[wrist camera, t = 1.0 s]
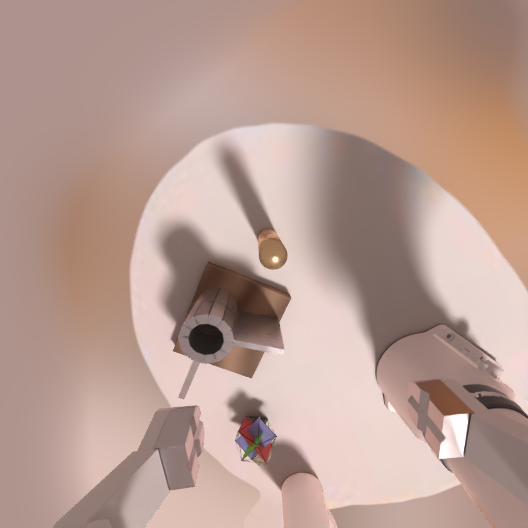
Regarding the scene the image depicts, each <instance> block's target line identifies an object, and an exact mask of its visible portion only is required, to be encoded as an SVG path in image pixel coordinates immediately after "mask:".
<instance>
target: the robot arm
mask: <svg viewBox="0 0 528 528" xmlns="http://www.w3.org/2000/svg"><path fill="white" fill-rule="evenodd" d="M503 372H504V370H503V369H501V365H500V364H498V363H497V362H496V361H495V360H493V359H492V358H491V357H489V356H488V355H486V354H485V353H484V352H482V351H481V350H480V349H478V348H477V347H475V346H474V345H473V344H471V343H470V342H468V341H467V340H466V339H464V338H463V337H462V336H460V335H459V334H457V333H456V332H455V331H453V330H452V329H450V328H449V327H448V326H446V325H443V324H442V325H438V326H436V327H434V328H432V329H430V330H428V331H427V332H423V333H418V334H413V335H409V336H406V337H404V338H402V339H400V340H398V341H397V342H395V343H394V344H393V345H391V346H390V347H389V348H388V349H387V350H386V351H385V353H384V354H383V355H382V357H381V359H380V361H379V363H378V367H377V382H378V384H379V387H380V388H381V390H382V391H383V393H384V396H385V405H386V407H387V408H388V410H389V411H390V412H393V413H398V415H399V416H400V417H401V419H402V420H403V421H404V422H405V424H406V425H407V426H408V427H409V429H410V430H411V431H412V433H413V434H414V435H415V436H416V437H417V439H419V440H420V441H424V442H427V443H428V445H429V446H430V448H431V450H432V452H433V453H434V454H435V456H436V457H437V458H438V459H439V460H440V461H441V462H442V464H443V465H444V466H445V467H446V468H447V469H448V470H449V471H451V472H452V473H454V475H455V476H456V477H457V479H458V480H459V482H460V483H461V484H462V486H463V487H464V489H465V490H466V491H467V493H468V494H469V496H470V497H471V498H472V499H473V501H474V502H475V504H476V505H477V507H478V508H479V509H480V511H481V512H482V513H483V515H484V516H485V518H486V519H487V520H488V522H489V523H490V524H491V526H492V527H493V528H528V416H527V415H526V413H525V412H524V411H523V410H522V409H521V407H520V406H519V405H517V404H516V403H515V402H514V400H515V394H514V391H513V389H511V388H510V387H509V386H507V385H506V384H505V383H503V382H502V381H501V380H499V379H500V375H501V374H502V373H503ZM200 415H201V412H200V408H199V406H197V405H196V406H184V407H172V408H164V409H158V410H157V411H156V412H155V414H154V417H153V419H152V421H151V423H150V425H149V427H148V429H147V431H146V434H145V436H144V438H143V440H142V442H141V444H140V446H139V449H138V451H136V452H132V453H131V454H130V455H129V456H128V457H127V458H126V459H125V460H124V461H123V462H121V463H120V464H119V465H118V466H117V467H116V468H115V469H114V470H113V471H112V472H111V473H110V474H109V475H107V476H106V477H105V478H104V479H103V480H102V481H101V482H100V483H99V484H98V485H97V486H96V487H94V488H93V489H92V490H91V491H90V492H89V493H88V494H87V495H86V496H85V497H84V498H83V499H82V500H80V501H79V502H78V503H77V504H76V505H75V506H74V507H73V508H72V509H71V510H70V511H68V512H67V513H66V514H65V515H64V516H63V517H62V518H61V519H60V520H59V521H58V522H57V523H56V524H55V525H54V527H53V528H145V527H146V525H147V524H148V522H149V521H150V519H151V518H152V517H153V515H154V514H155V512H156V511H157V509H158V508H159V507H160V505H161V504H162V502H163V501H164V499H165V498H166V497H167V495H168V494H169V490H176V489H182V488H189V487H195V483H196V479H197V474H198V469H199V462H198V457H199V455H200V454H201V453H202V449H203V444H204V427H203V422H201V421H200V420H199V419H200Z"/></svg>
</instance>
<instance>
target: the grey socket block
mask: <svg viewBox="0 0 528 528" xmlns="http://www.w3.org/2000/svg"><path fill="white" fill-rule="evenodd" d="M178 340H179V344H180V349H181V348H182V349H181V350H182V351H183V352H184V353H185V354H186V355H187V356H188V357H189V358H191V357H192V358H191V360H193V362H192V364H191V367H190V369H189V372H188V374H187V377H186V379H185V382H184V384H183V387H182V389H181V392H180V394H179V397H178V398H181V399H184V398H185V396H186V394H187V391H188V389H189V387H190V384H191V382H192V380H193V377H194V375H195V373H196V370H197V368H198V366H199V363H204V364H206V363H214V362H217V361H218V362H219V361H220V360H222V359H223V358H225V357H226V356H228V354H229V353H230V351H231V349H232V347H233V345H234V346H239V347H244V348H249V349H254V350H260V351H265V352H270V353H275V354H280V355H283V352H284V345H283V340H282V335H281V329H280V324H279V319H278V318H275V317H270V316H265V315H260V314H256V313H251V312H246V311H241V310H239V306H238V301H237V299H236V298H235V297H234V295H233V294H232V293H230V291H227V290H224V289H222V288H220V289H219V288H213V289H209V290H206V291H205V292H204V293H202V294H201V295H200V296H199V298H198V299H197V301H196V303H195V304H194V306H193V308H192V309H191V311H190V313H189V314H188V316H187V318H186V319H185V321H184V323H183V324H182V327H181V329H180V332H179V334H178Z"/></svg>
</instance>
